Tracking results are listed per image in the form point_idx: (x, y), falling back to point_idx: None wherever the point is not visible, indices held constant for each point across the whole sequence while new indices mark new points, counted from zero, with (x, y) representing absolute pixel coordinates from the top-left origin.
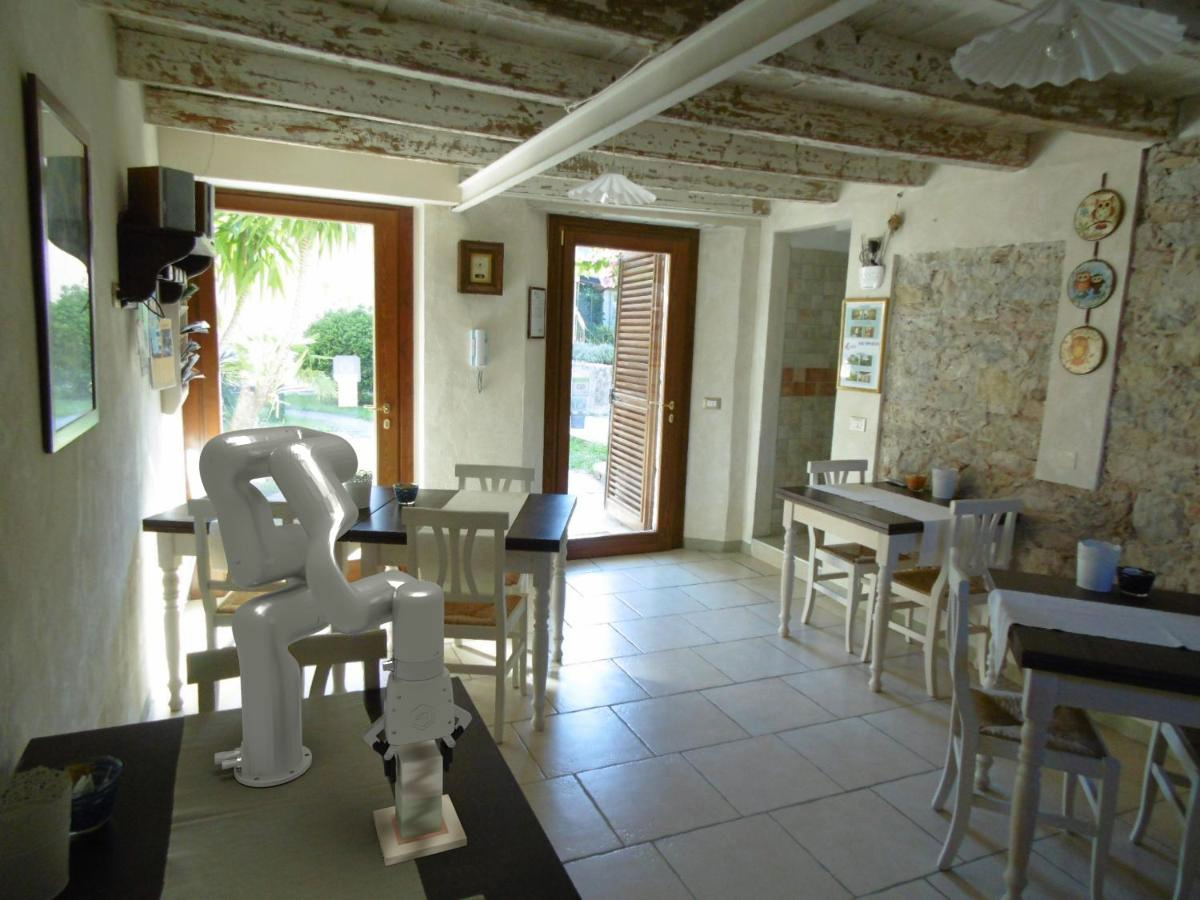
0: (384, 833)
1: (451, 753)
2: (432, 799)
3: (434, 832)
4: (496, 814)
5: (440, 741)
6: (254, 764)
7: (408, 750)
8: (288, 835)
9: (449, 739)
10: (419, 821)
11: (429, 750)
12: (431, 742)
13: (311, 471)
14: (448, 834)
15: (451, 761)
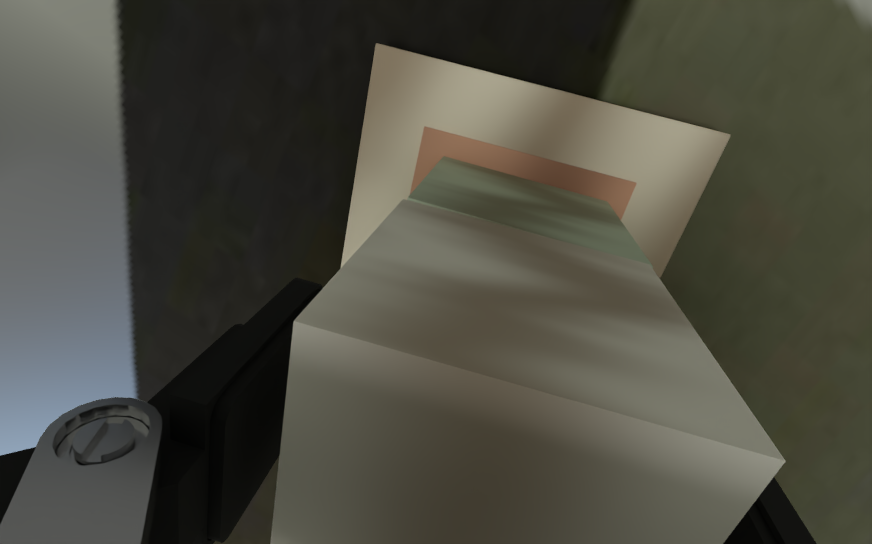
0: None
1: (195, 369)
2: (467, 207)
3: (474, 163)
4: (215, 151)
5: (223, 540)
6: None
7: None
8: (857, 483)
9: (73, 495)
10: (538, 198)
11: (367, 500)
12: None
13: None
14: (431, 117)
15: (240, 327)
